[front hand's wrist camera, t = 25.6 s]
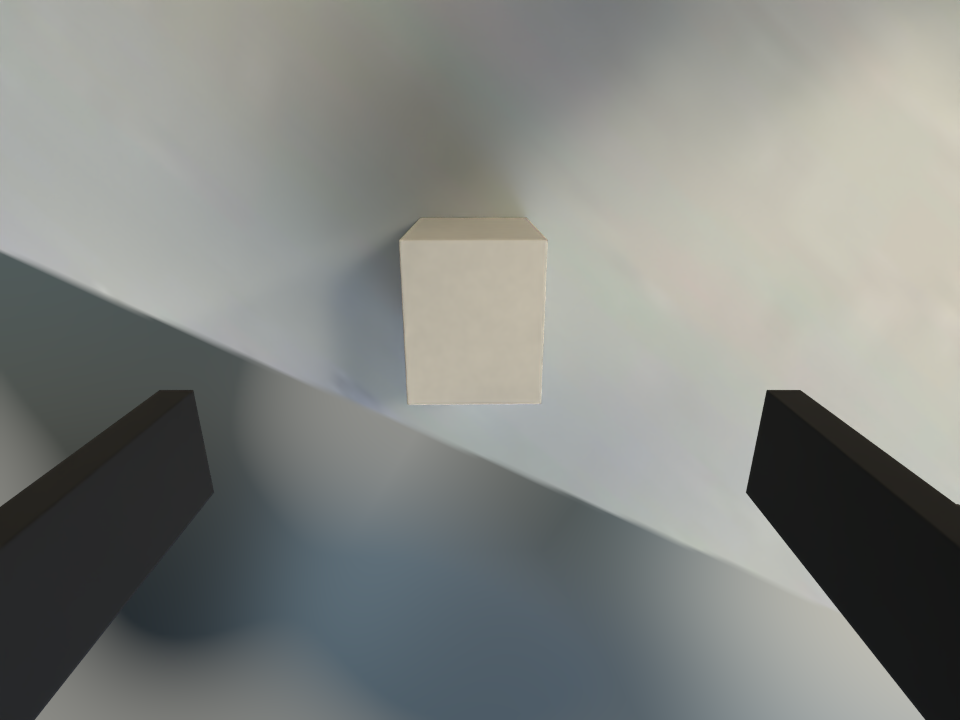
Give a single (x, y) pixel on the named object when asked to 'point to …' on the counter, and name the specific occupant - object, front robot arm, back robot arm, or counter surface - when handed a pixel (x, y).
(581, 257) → the counter surface
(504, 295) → the block
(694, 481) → the counter surface
